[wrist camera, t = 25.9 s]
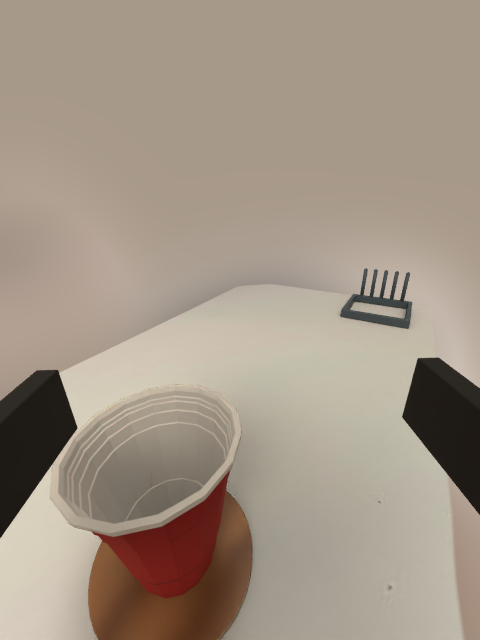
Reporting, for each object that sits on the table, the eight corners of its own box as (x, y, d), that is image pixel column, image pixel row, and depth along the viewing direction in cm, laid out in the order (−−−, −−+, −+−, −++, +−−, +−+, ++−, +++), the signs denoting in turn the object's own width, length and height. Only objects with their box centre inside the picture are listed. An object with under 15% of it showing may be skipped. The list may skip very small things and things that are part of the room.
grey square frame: (408, 328, 58) (418, 287, 55) (340, 316, 65) (345, 279, 62) (410, 308, 69) (419, 273, 66) (352, 300, 76) (357, 267, 73)
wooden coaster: (276, 520, 23) (276, 516, 23) (186, 743, 14) (185, 739, 14) (170, 462, 29) (169, 458, 29) (53, 593, 19) (50, 589, 19)
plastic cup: (164, 466, 28) (146, 366, 23) (264, 511, 23) (267, 399, 19) (61, 594, 19) (-3, 471, 14) (193, 705, 14) (165, 582, 10)
